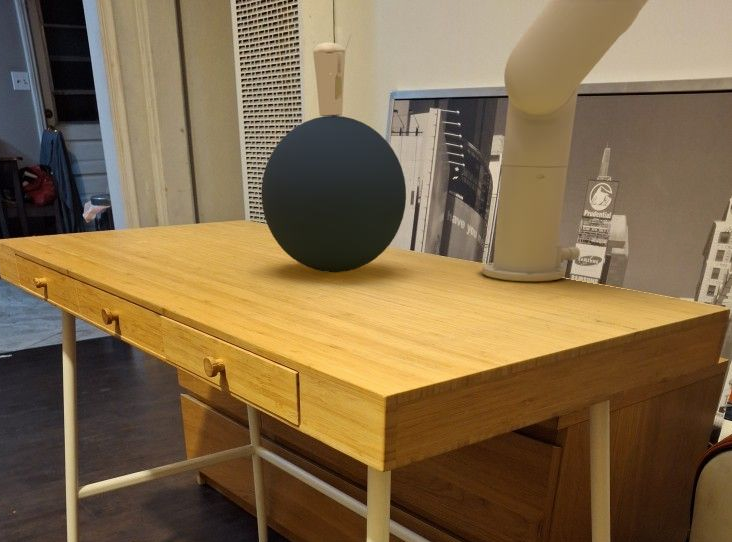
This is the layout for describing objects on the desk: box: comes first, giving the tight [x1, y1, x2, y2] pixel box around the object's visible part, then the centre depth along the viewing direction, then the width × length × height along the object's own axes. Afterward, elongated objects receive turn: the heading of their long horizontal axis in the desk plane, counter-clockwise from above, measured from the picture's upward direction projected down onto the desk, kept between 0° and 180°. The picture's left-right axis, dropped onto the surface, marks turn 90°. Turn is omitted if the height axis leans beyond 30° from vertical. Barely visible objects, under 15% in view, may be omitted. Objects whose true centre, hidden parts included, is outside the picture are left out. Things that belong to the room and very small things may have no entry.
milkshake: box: [312, 34, 352, 117], centre depth 108 cm, size 4×5×10 cm
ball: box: [260, 115, 407, 274], centre depth 115 cm, size 22×22×22 cm
